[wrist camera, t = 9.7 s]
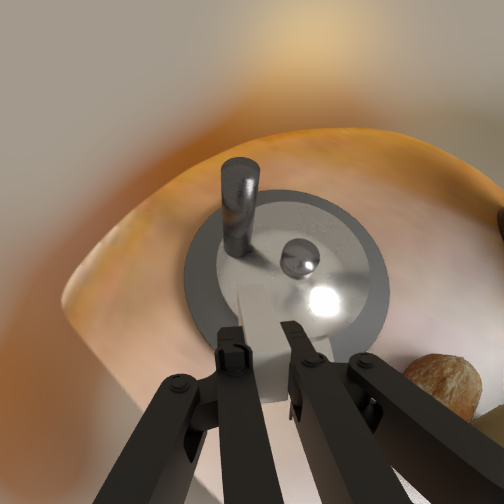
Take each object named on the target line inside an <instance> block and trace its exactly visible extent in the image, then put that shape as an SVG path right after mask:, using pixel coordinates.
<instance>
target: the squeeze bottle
mask: <svg viewBox="0 0 504 504" xmlns="http://www.w3.org/2000/svg"><path fill="white" fill-rule="evenodd" d="M471 425H472V426H474V427H475V428H476V429H478V430H479V431H481V432H482V433H483V434H485V435H486V436H488V437H489V438H490V439H492V440H493V441H495V442H496V443H497V444H499V445H500V446H502V447H503V448H504V405H499V406H498V407H496V408H494V409H493V410H491V411H489V412H488V413H486V414H484V415H482V416H481V417H479V418H477V419H475V420H474V421H472V423H471Z"/></svg>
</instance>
